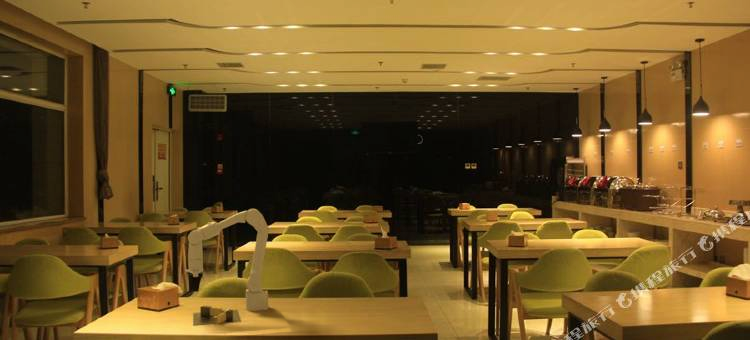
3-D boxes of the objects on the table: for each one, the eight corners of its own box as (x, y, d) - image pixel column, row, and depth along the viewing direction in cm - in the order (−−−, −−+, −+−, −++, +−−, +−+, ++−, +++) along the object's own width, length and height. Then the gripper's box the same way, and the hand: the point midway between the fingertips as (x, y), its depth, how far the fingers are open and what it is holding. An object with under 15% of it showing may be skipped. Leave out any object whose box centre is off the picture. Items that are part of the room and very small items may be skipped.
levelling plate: (237, 312, 247) (237, 308, 247) (241, 324, 226) (241, 320, 226) (193, 315, 242) (193, 311, 242) (193, 328, 221) (193, 324, 221)
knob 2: (225, 317, 233) (224, 308, 233) (235, 317, 232) (234, 308, 232) (213, 322, 224) (213, 313, 224) (223, 323, 223) (223, 314, 223)
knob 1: (198, 315, 236) (198, 307, 236) (204, 313, 240) (204, 304, 241) (218, 316, 234) (218, 308, 234) (224, 314, 238) (224, 305, 238)
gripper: (185, 257, 249) (186, 288, 249) (185, 261, 235) (185, 295, 235) (202, 256, 251) (203, 287, 251) (203, 260, 238) (203, 294, 237)
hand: (195, 291), depth 243 cm, fingers closed
